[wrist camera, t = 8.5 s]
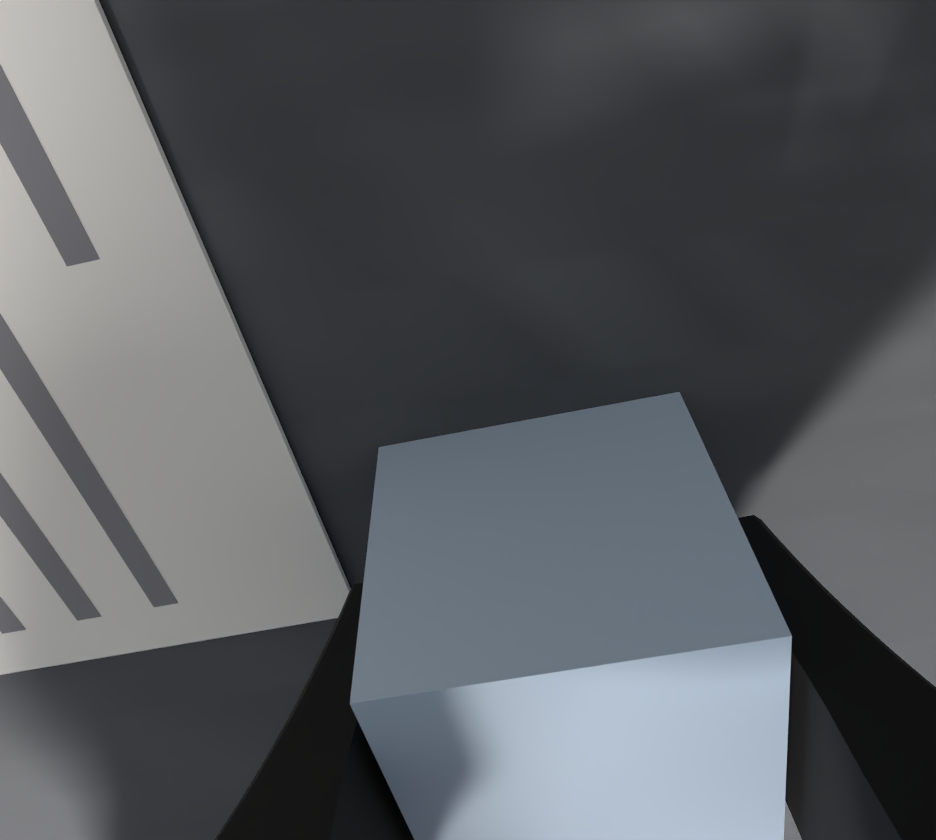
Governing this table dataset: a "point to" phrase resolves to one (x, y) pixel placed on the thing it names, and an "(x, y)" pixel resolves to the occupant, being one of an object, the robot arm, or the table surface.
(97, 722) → the table surface
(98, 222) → the letter
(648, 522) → the blue cube
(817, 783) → the robot arm
